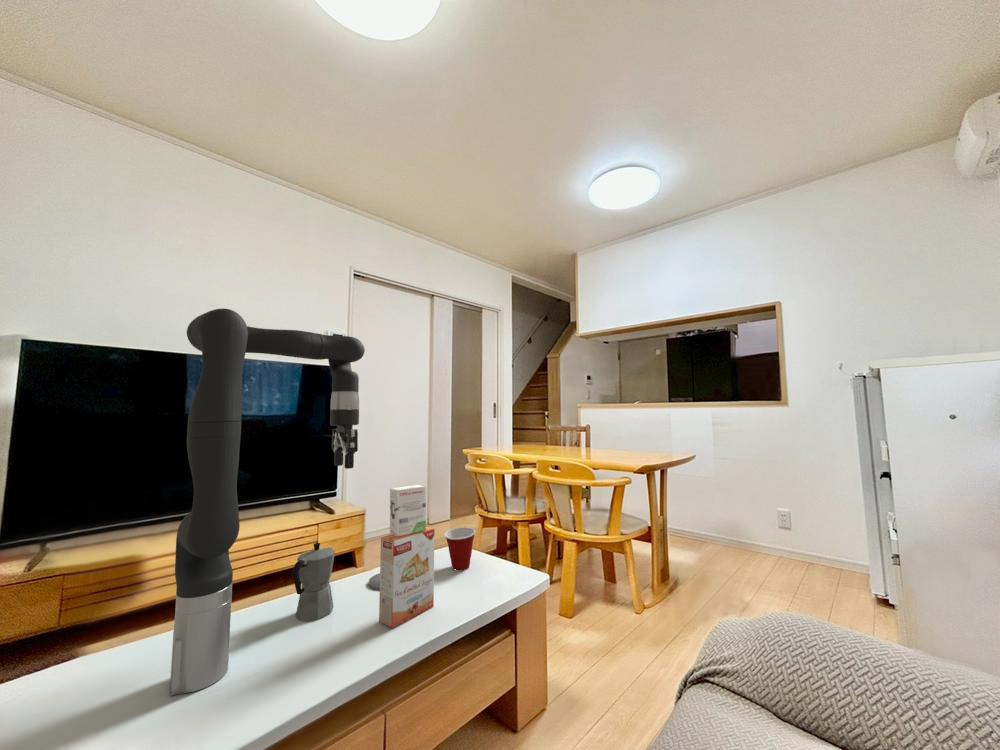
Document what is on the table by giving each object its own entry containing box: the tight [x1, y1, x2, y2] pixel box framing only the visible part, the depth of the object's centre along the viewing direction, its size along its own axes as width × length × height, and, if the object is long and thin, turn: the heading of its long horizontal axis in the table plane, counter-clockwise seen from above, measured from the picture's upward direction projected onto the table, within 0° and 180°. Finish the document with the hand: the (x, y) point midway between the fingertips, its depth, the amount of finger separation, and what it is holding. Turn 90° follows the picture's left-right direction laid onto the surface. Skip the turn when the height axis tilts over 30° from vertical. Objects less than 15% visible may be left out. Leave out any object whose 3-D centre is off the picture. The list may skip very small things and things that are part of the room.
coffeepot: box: [291, 542, 336, 622], centre depth 103 cm, size 15×9×18 cm, turn 169°
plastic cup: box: [443, 526, 476, 571], centre depth 133 cm, size 11×11×12 cm
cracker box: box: [378, 526, 435, 629], centre depth 103 cm, size 14×6×21 cm, turn 143°
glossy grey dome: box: [368, 572, 380, 590], centre depth 122 cm, size 12×12×1 cm
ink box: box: [389, 484, 427, 537], centre depth 104 cm, size 9×5×12 cm, turn 127°
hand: (343, 467), depth 107 cm, fingers open, 8 cm apart
